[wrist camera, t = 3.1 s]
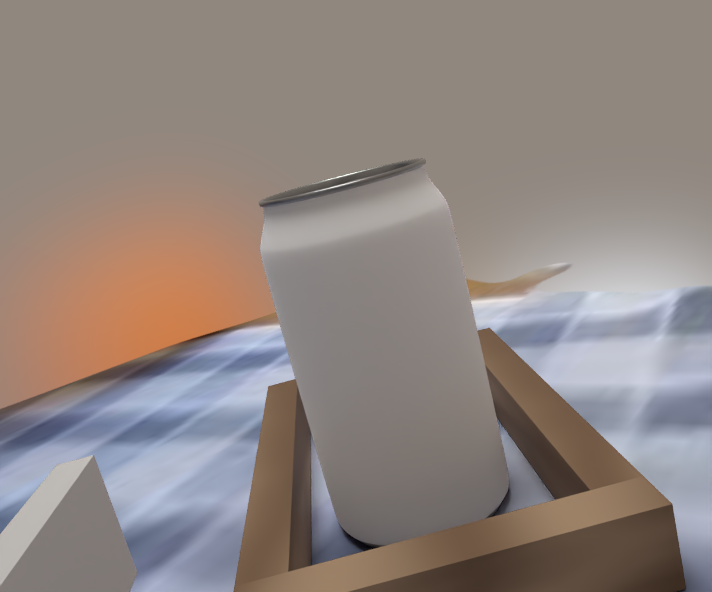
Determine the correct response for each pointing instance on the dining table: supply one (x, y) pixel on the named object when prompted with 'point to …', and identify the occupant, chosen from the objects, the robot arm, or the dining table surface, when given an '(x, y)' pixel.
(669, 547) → the u-shaped wooden frame
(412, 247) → the can
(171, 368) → the dining table surface
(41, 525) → the robot arm
